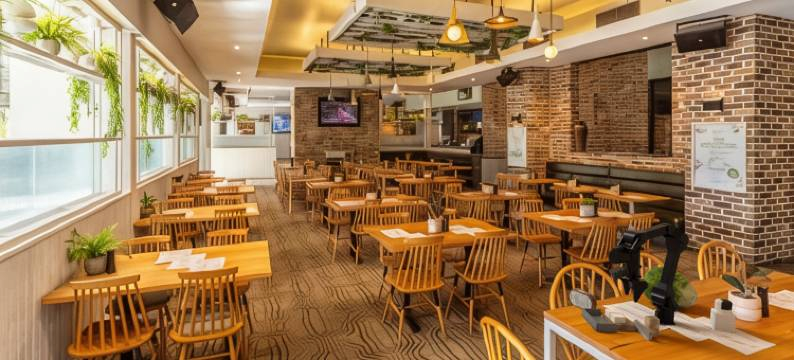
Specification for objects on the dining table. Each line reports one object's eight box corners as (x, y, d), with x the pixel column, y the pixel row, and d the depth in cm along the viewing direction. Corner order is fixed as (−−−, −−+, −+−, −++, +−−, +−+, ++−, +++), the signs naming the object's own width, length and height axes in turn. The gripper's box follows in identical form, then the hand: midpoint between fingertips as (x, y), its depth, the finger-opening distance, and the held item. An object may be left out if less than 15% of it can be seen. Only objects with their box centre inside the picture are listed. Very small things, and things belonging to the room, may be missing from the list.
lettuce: (682, 318, 214) (695, 280, 213) (630, 296, 232) (642, 260, 230) (697, 317, 226) (709, 280, 225) (646, 296, 244) (658, 262, 242)
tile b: (621, 319, 205) (621, 313, 205) (625, 323, 201) (625, 317, 200) (610, 318, 205) (610, 313, 205) (614, 322, 201) (614, 317, 201)
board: (621, 318, 213) (621, 313, 212) (635, 331, 199) (635, 325, 198) (602, 317, 213) (602, 312, 213) (615, 330, 199) (615, 324, 199)
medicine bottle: (729, 326, 205) (731, 298, 204) (734, 332, 198) (736, 303, 197) (709, 324, 207) (711, 296, 206) (714, 330, 201) (716, 301, 200)
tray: (600, 316, 215) (600, 308, 215) (616, 332, 197) (616, 323, 197) (581, 315, 215) (582, 308, 215) (596, 331, 197) (596, 323, 197)
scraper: (648, 328, 202) (649, 311, 201) (664, 341, 189) (665, 323, 188) (634, 327, 202) (634, 311, 202) (648, 340, 189) (649, 323, 189)
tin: (596, 313, 219) (597, 295, 218) (591, 314, 218) (592, 295, 217) (572, 302, 233) (573, 285, 232) (567, 303, 231) (568, 286, 231)
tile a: (615, 314, 211) (616, 308, 210) (619, 318, 206) (620, 312, 206) (605, 314, 211) (605, 308, 211) (609, 318, 206) (609, 312, 206)
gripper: (604, 255, 209) (603, 291, 210) (620, 267, 190) (618, 306, 192) (631, 256, 208) (629, 291, 209) (649, 267, 189) (648, 306, 191)
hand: (630, 298), depth 200 cm, fingers open, 9 cm apart
